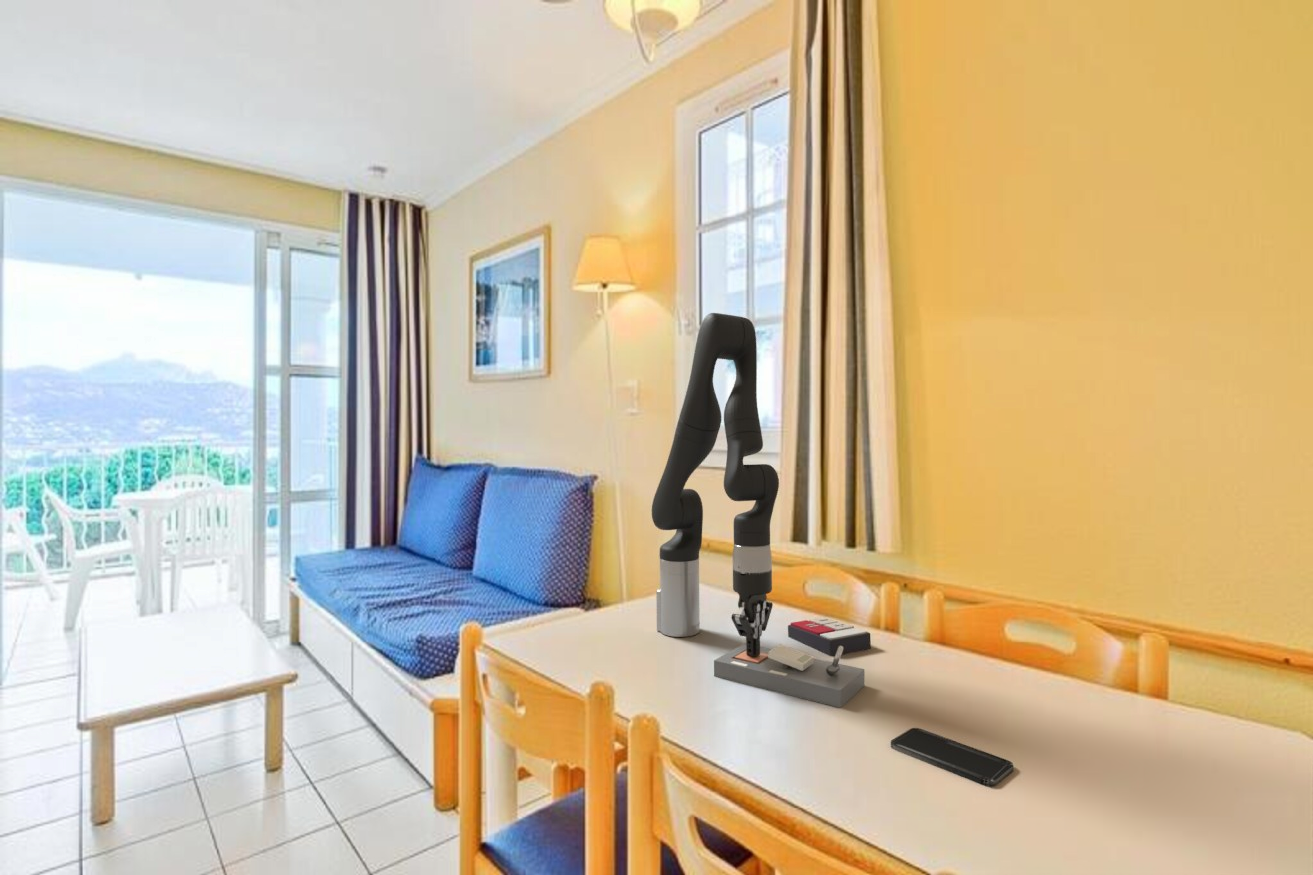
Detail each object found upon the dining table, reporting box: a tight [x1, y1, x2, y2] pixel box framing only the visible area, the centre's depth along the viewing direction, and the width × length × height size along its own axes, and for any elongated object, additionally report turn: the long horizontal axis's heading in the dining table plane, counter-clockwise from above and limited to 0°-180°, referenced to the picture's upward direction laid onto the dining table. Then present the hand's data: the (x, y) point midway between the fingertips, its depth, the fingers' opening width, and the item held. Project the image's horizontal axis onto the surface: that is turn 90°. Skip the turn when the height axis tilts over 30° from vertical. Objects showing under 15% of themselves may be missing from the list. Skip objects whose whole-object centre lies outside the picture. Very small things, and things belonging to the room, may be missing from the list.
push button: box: [734, 651, 768, 664], centre depth 129 cm, size 5×5×3 cm
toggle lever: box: [826, 646, 843, 676], centre depth 119 cm, size 2×2×6 cm
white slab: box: [768, 643, 815, 671], centre depth 124 cm, size 7×5×1 cm
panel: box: [713, 643, 865, 709], centre depth 124 cm, size 25×12×4 cm, turn 53°
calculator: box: [787, 616, 872, 657], centre depth 146 cm, size 11×4×15 cm
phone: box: [890, 727, 1014, 788], centre depth 95 cm, size 8×1×15 cm
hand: (753, 655), depth 129 cm, fingers closed
